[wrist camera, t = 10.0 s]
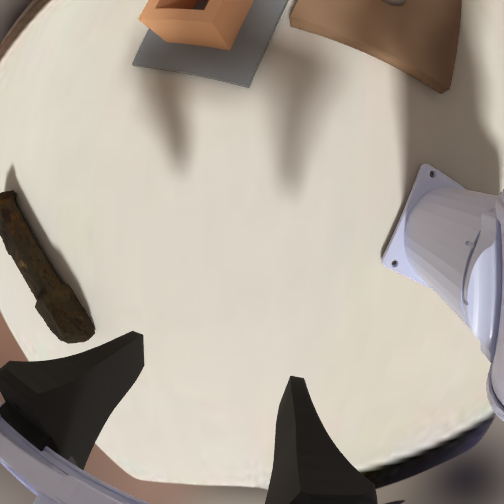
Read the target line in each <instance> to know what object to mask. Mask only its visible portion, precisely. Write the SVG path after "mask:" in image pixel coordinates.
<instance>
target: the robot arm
mask: <svg viewBox="0 0 504 504" xmlns="http://www.w3.org/2000/svg"><path fill="white" fill-rule="evenodd" d="M431 171H432V172H433V177H432V178H431V176H430V172H431ZM394 260H396V264H395V265H394V266H392V265H391V264H392V262H393V261H394ZM382 264H383V265H384V266H385V267H386V268H389V269H391V270H393V271H395V272H397V273H399V274H402V275H404V276H406V277H408V278H410V279H412V280H414V281H417V282H419V283H421V284H423V285H425V286H427V287H429V288H431V289H432V290H433V291H434V292H435V293H436V294H437V295H438V296H439V297H440V298H441V299H442V300H443V301H444V302H445V303H446V304H447V305H448V306H449V307H450V308H451V309H452V310H453V311H454V312H455V313H456V314H457V316H458V317H459V318H460V319H461V320H462V321H463V322H464V323H465V324H466V325H467V327H468V328H469V329H470V330H471V331H472V332H473V333H474V335H475V336H476V337H477V338H478V339H479V340H480V343H481V351H482V352H483V353H484V355H485V356H486V357H487V358H488V360H489V361H490V362H492V363H491V367H490V370H489V373H488V377H487V396H488V400H489V402H490V405H491V407H492V409H493V410H494V412H495V413H496V414H497V416H498V417H499V418H500V419H501V420H503V421H504V189H503V191H502V192H501V193H500V194H499V195H498V196H497V195H492V194H487V193H481V192H476V191H470V190H467V189H465V188H464V187H463V186H461V185H460V184H458V183H457V182H455V181H454V180H452V179H451V178H449V177H448V176H446V175H445V174H443V173H442V172H440V171H439V170H437V169H436V168H434V167H432V166H431V165H429V164H422V165H421V166H420V169H419V171H418V174H417V177H416V180H415V182H414V185H413V188H412V190H411V193H410V195H409V198H408V200H407V203H406V205H405V208H404V210H403V212H402V215H401V217H400V220H399V222H398V224H397V226H396V229H395V231H394V233H393V235H392V238H391V240H390V242H389V244H388V246H387V248H386V250H385V253H384V255H383V257H382ZM143 367H144V345H143V335H142V334H139V333H137V332H134V331H132V332H129V333H127V334H125V335H123V336H120V337H118V338H116V339H114V340H112V341H109V342H107V343H105V344H103V345H100V346H98V347H95V348H93V349H90V350H87V351H85V352H82V353H79V354H76V355H72V356H68V357H64V358H59V359H53V360H47V361H34V362H21V361H9V362H8V363H6V365H4V366H3V367H2V368H0V392H1V394H2V396H3V397H4V399H5V401H6V402H5V403H4V404H3V405H2V403H1V402H0V463H2V465H3V466H4V467H5V468H6V469H7V470H9V472H11V473H12V474H13V475H14V476H15V477H16V478H17V479H18V480H19V481H20V482H21V483H23V484H24V485H25V486H26V487H27V488H28V489H30V490H31V491H32V492H33V493H34V494H36V495H37V498H36V499H35V500H34V501H33V503H32V504H150V503H147V502H145V501H142V500H140V499H138V498H136V497H133V496H131V495H129V494H127V493H125V492H122V491H120V490H118V489H116V488H114V487H112V486H110V485H108V484H106V483H105V482H103V481H101V480H99V479H97V478H95V477H94V476H92V475H90V474H88V473H86V472H85V471H83V470H84V467H85V464H86V462H87V459H88V457H89V454H90V452H91V450H92V448H93V446H94V444H95V441H96V439H97V438H98V436H99V434H100V432H101V430H102V428H103V426H104V424H105V423H106V421H107V419H108V417H109V416H110V414H111V413H112V411H113V410H114V408H115V407H116V406H117V405H118V403H119V402H120V401H121V399H122V398H123V397H124V396H125V394H126V393H127V392H128V390H129V389H130V388H131V387H132V385H133V384H134V383H135V381H136V380H137V378H138V376H139V374H140V373H141V371H142V369H143ZM265 504H377V495H376V490H375V487H374V484H373V483H372V482H371V481H369V480H368V479H367V478H366V477H364V476H363V475H362V474H361V473H360V472H359V471H358V470H356V469H355V468H354V467H353V466H352V465H351V464H350V462H349V461H348V460H347V459H346V458H345V457H344V456H343V454H342V453H341V452H340V451H339V449H338V448H337V447H336V445H335V444H334V443H333V441H332V440H331V438H330V436H329V435H328V433H327V432H326V430H325V428H324V426H323V424H322V422H321V420H320V418H319V416H318V414H317V412H316V410H315V407H314V405H313V403H312V400H311V398H310V395H309V392H308V389H307V386H306V383H305V380H304V378H300V377H294V376H290V378H289V381H288V384H287V386H286V389H285V392H284V394H283V397H282V399H281V402H280V405H279V410H278V415H277V421H276V434H275V450H274V462H273V469H272V474H271V479H270V484H269V489H268V493H267V497H266V502H265Z"/></svg>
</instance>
